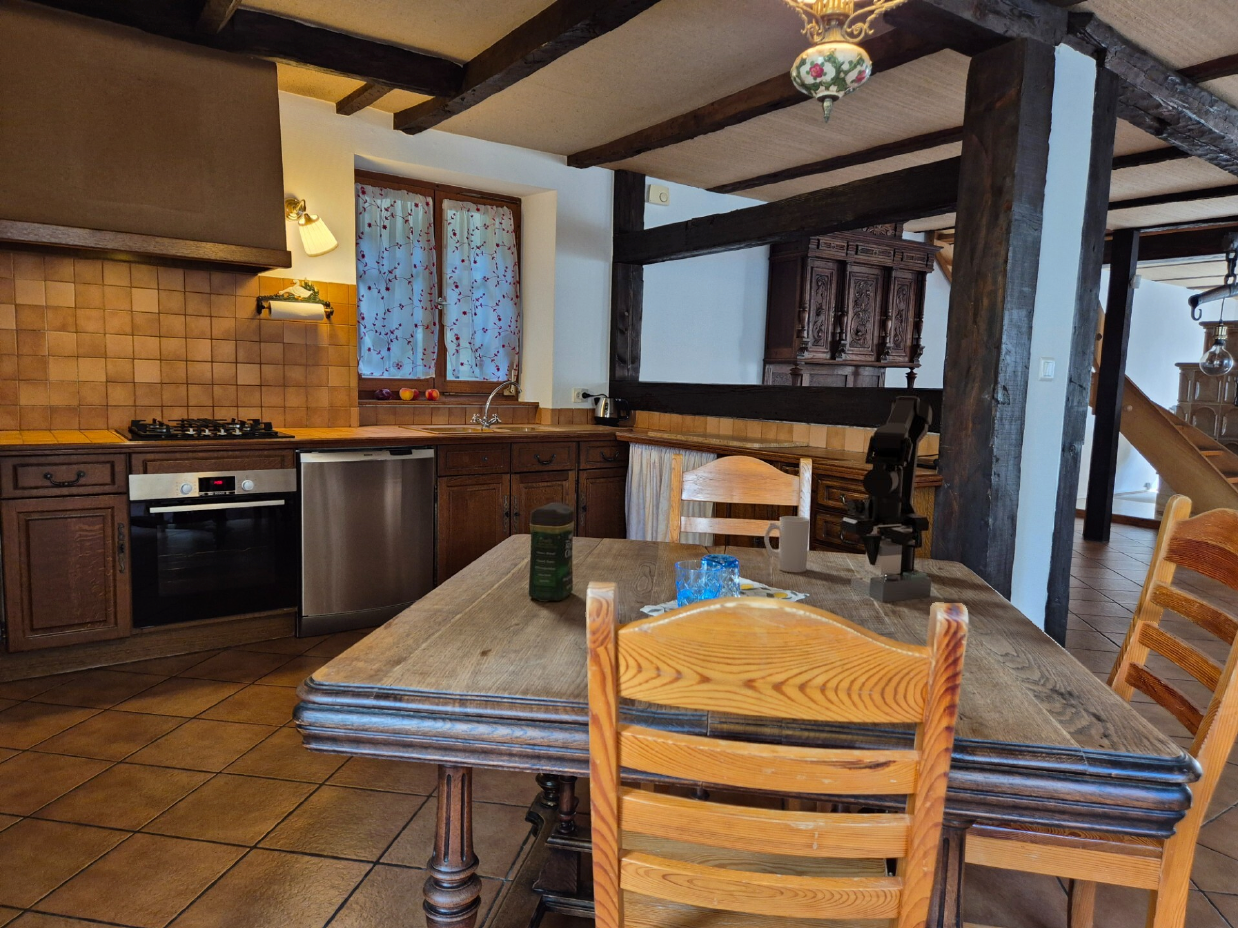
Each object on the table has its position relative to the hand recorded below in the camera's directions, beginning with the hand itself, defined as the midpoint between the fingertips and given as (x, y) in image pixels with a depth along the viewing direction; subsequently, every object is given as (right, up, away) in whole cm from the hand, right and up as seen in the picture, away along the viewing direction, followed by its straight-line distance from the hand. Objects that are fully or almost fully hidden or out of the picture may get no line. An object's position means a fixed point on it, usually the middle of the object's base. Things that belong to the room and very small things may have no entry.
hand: (882, 564), depth 161 cm
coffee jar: (-69, -5, -9) cm, 70 cm away
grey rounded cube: (0, -2, 0) cm, 2 cm away
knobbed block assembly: (+1, -6, -2) cm, 6 cm away
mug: (-17, -4, +17) cm, 24 cm away
